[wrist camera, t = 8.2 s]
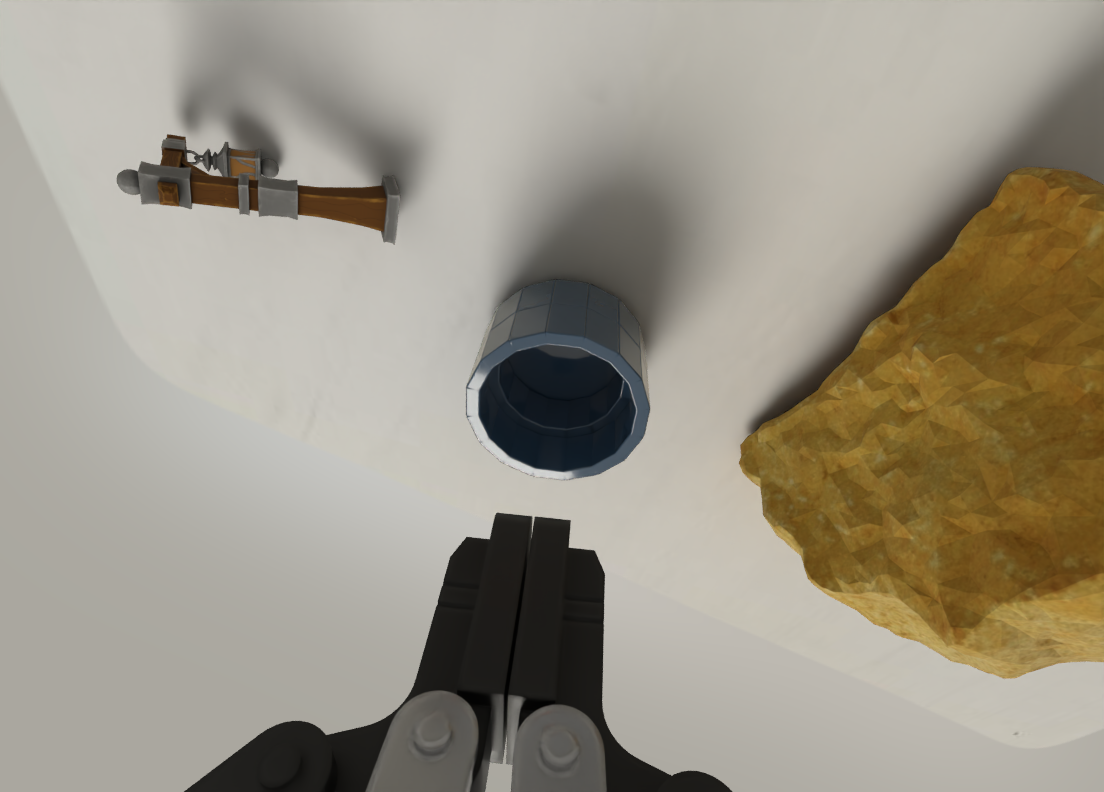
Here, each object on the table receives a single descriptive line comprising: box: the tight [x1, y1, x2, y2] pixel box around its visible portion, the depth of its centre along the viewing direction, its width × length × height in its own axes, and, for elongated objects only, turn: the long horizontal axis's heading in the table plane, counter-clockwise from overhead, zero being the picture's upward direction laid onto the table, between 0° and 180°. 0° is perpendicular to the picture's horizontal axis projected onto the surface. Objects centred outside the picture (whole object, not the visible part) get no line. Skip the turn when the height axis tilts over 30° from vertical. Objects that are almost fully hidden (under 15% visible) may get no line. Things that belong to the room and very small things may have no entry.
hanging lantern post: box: [117, 134, 400, 245], centre depth 20 cm, size 2×8×4 cm, turn 75°
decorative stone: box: [739, 167, 1104, 678], centre depth 20 cm, size 13×15×15 cm
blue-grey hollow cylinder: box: [466, 279, 650, 480], centre depth 23 cm, size 6×6×4 cm
